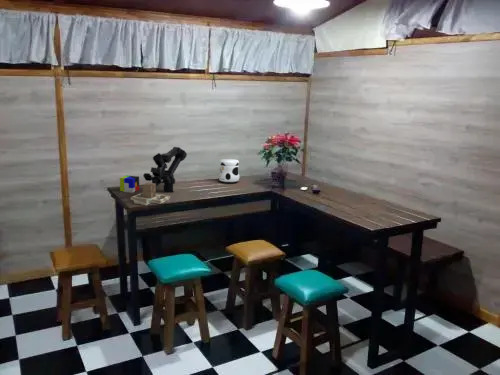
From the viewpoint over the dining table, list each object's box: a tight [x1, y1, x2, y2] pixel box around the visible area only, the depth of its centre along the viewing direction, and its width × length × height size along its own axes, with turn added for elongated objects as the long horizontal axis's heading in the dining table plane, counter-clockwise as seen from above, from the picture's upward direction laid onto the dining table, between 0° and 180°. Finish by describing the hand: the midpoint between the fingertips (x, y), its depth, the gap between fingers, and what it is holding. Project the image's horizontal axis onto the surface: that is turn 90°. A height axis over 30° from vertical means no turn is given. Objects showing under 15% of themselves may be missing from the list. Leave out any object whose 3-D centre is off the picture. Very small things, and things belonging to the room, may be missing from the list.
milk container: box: [218, 158, 241, 184], centre depth 358 cm, size 17×17×18 cm
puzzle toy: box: [119, 175, 140, 194], centre depth 316 cm, size 10×10×10 cm
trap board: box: [130, 192, 171, 206], centre depth 293 cm, size 24×22×4 cm
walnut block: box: [142, 182, 157, 199], centre depth 292 cm, size 6×6×9 cm
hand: (152, 188), depth 296 cm, fingers closed
